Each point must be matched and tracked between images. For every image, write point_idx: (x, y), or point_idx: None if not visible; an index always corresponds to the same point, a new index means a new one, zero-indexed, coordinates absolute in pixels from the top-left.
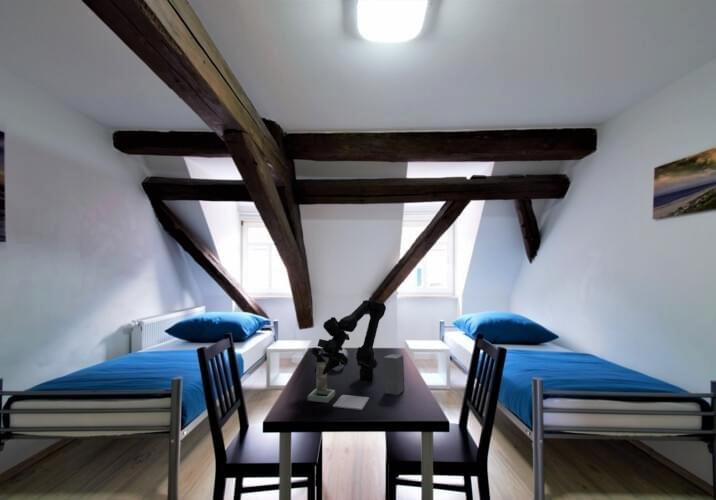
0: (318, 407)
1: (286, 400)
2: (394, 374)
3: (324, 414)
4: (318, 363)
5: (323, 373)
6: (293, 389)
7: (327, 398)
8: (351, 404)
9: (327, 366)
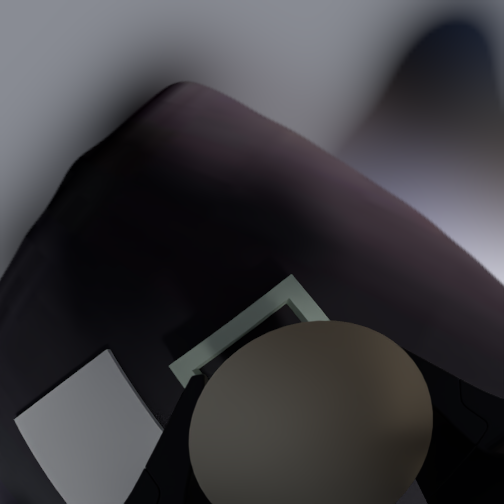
0: (155, 282)
1: (357, 188)
2: None
3: (74, 261)
4: (347, 372)
5: (193, 382)
6: (480, 287)
7: (172, 364)
8: (65, 428)
9: (146, 465)
